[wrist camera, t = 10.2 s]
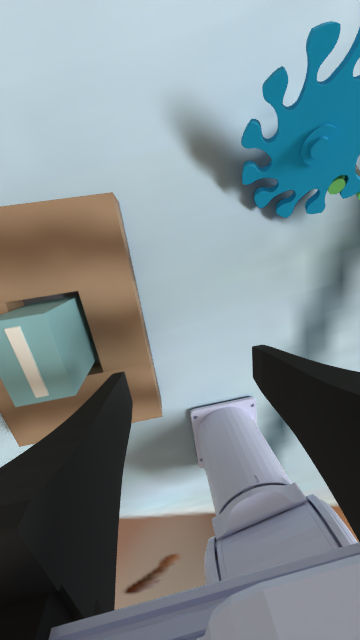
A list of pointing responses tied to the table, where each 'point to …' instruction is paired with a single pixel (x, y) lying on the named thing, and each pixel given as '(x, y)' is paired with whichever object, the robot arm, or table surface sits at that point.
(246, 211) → the table surface
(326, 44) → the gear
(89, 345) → the teal striped block
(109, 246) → the keyed socket
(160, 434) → the table surface
